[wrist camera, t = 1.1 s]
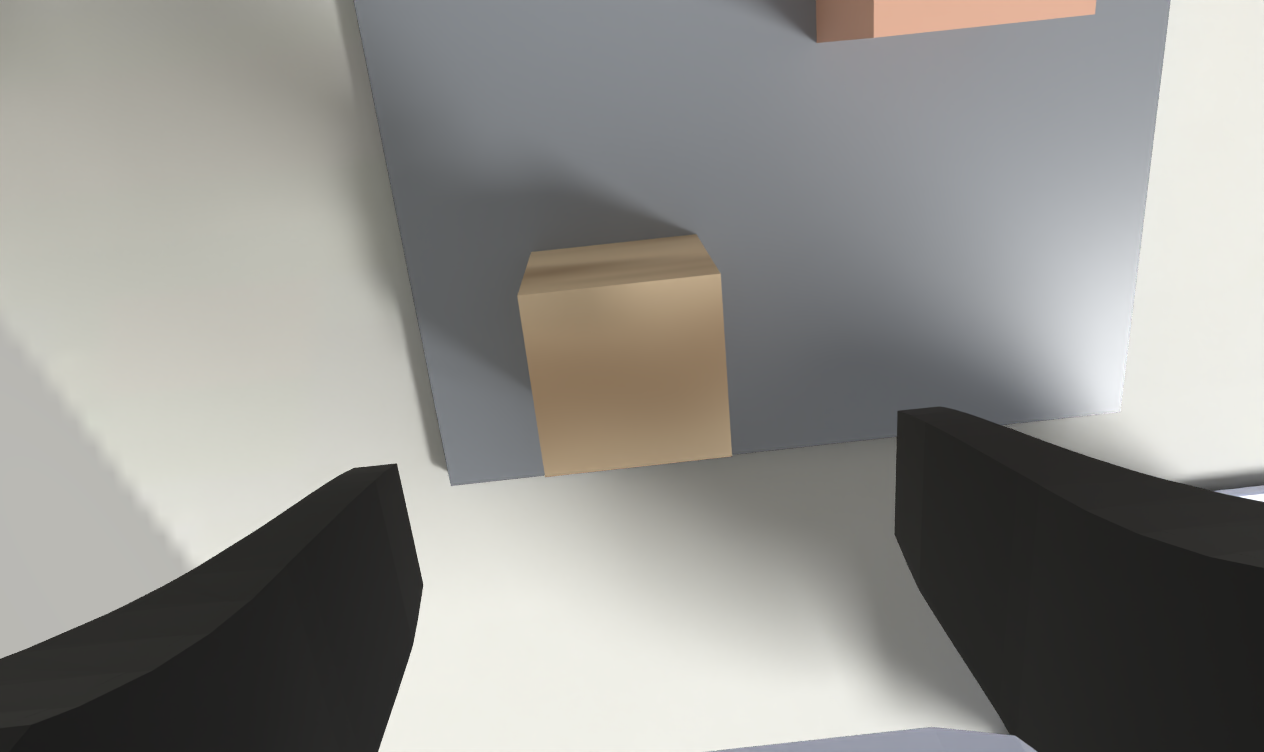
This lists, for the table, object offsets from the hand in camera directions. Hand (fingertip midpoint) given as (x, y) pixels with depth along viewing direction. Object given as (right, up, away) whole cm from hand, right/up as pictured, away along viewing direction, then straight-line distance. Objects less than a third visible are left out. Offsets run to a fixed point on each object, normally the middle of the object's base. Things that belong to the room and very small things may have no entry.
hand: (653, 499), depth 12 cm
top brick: (-1, +3, +9) cm, 9 cm away
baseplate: (+3, +7, +8) cm, 11 cm away
